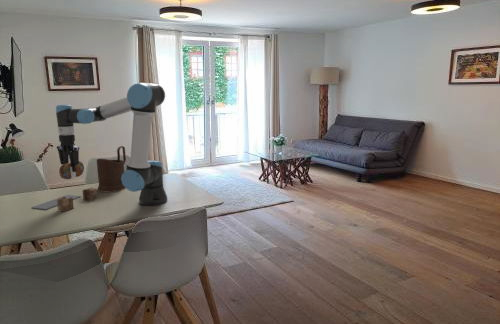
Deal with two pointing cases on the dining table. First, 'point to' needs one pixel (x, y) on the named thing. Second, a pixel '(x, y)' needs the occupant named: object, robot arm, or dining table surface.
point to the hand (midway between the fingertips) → (71, 177)
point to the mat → (53, 203)
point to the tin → (65, 170)
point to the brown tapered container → (111, 173)
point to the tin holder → (67, 203)
